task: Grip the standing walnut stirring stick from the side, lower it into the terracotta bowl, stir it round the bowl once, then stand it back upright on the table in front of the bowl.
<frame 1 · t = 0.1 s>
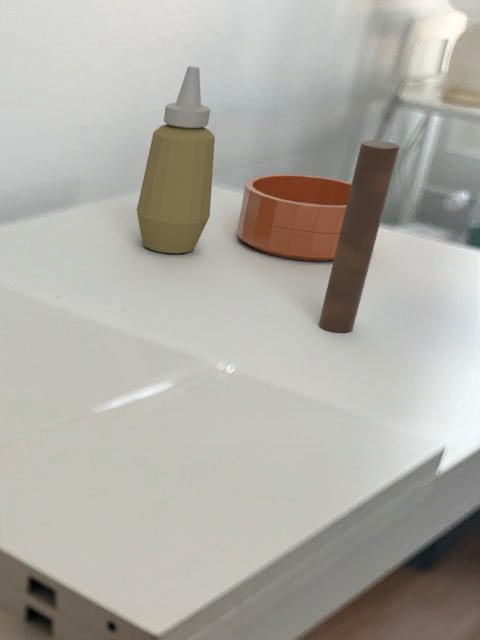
bowl: (299, 244, 120), on the table
stirring stick: (335, 326, 98), on the table
squeeze bottle: (168, 249, 117), on the table
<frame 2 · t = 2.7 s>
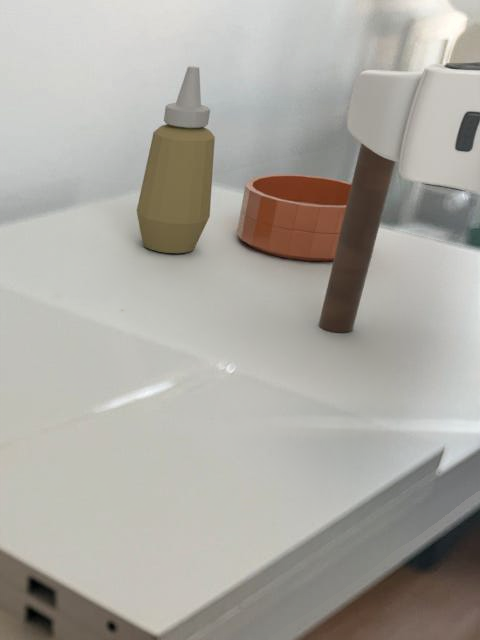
hand: (462, 93, 74), 22 cm above the table, tool horizontal, fingers open, 8 cm apart
nothing on the table moved.
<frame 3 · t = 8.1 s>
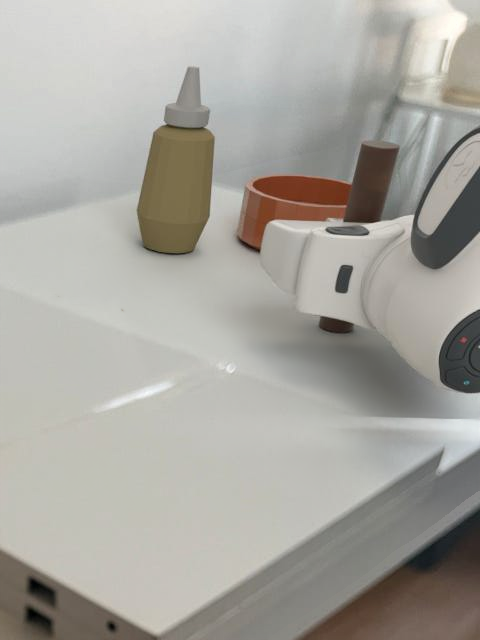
hand: (355, 228, 93), 9 cm above the table, tool horizontal, fingers closed on stirring stick, 3 cm apart
stirring stick: (335, 326, 98), on the table, touching gripper
everything else where it was.
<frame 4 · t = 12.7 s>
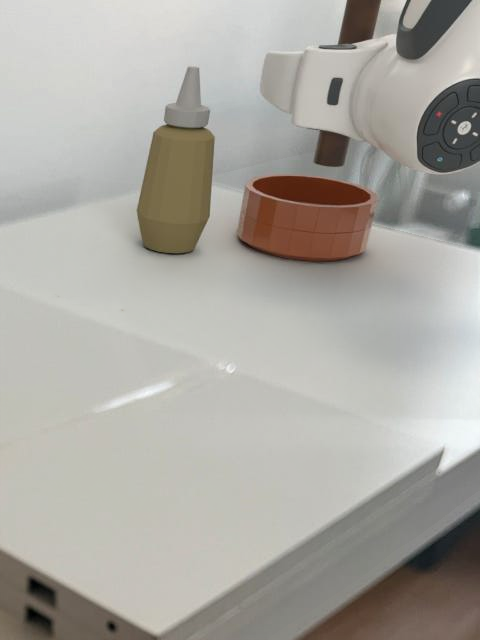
hand: (346, 67, 104), 19 cm above the table, tool horizontal, fingers closed on stirring stick, 3 cm apart
stirring stick: (328, 163, 109), point 10 cm above the table, touching gripper
everything else where it was.
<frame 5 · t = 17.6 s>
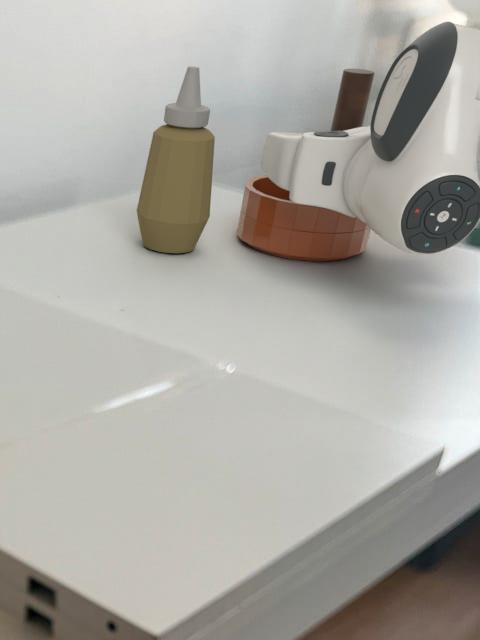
hand: (339, 143, 114), 11 cm above the table, tool horizontal, fingers closed on stirring stick, 3 cm apart
stirring stick: (324, 228, 118), point 2 cm above the table, touching gripper
everything else where it was.
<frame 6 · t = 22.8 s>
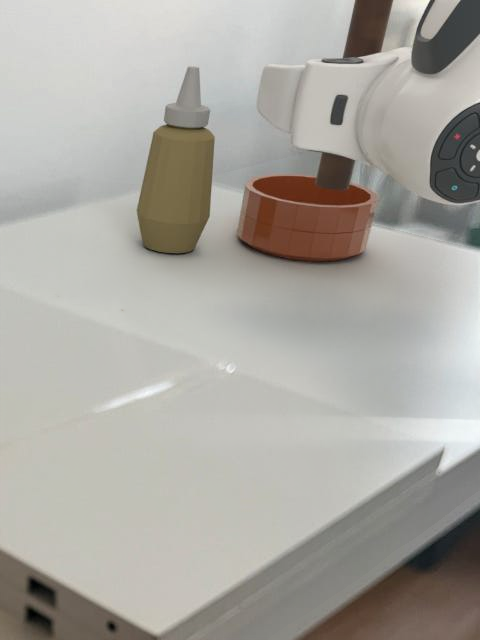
hand: (351, 82, 95), 19 cm above the table, tool horizontal, fingers closed on stirring stick, 3 cm apart
stirring stick: (331, 186, 100), point 10 cm above the table, touching gripper
everything else where it was.
when the fingers open (9 cm above the table, at t = 27.2 s): stirring stick stays where it is, on the table.
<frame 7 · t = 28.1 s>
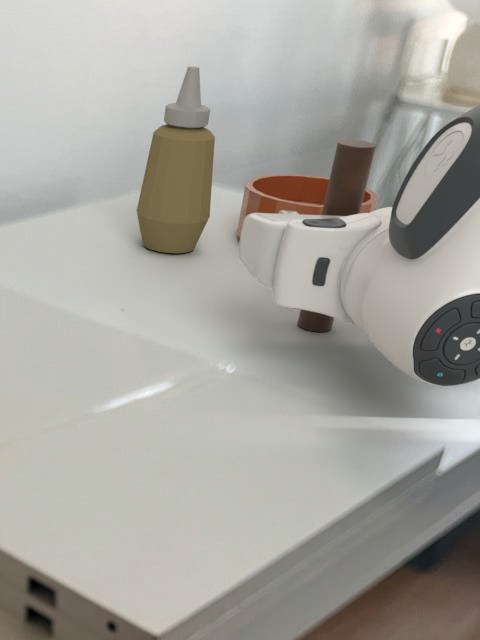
hand: (336, 221, 93), 9 cm above the table, tool horizontal, fingers open, 8 cm apart
stirring stick: (314, 326, 98), on the table
everything else where it was.
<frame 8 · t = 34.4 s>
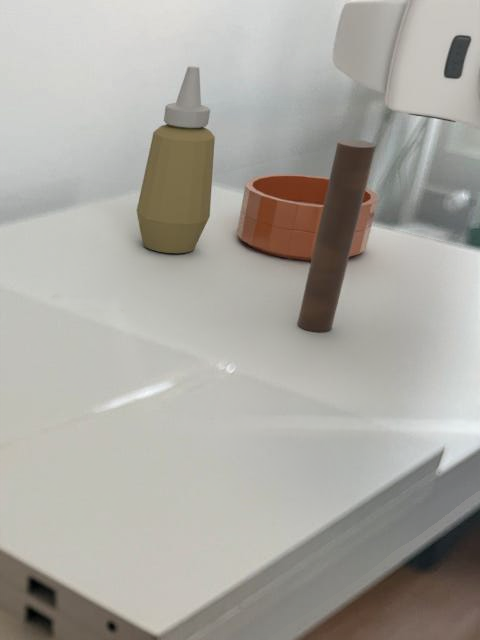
hand: (453, 29, 72), 26 cm above the table, tool horizontal, fingers open, 8 cm apart
nothing on the table moved.
at the end: stirring stick inside the target area on the table beside the bowl (0.1 cm from its centre), on the table; stirring stick tilted 0°; the gripper is holding nothing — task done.
